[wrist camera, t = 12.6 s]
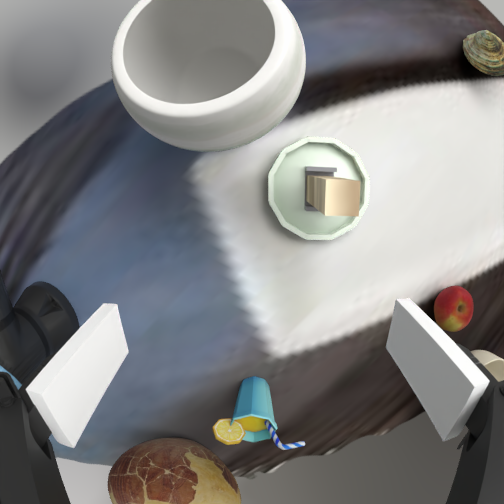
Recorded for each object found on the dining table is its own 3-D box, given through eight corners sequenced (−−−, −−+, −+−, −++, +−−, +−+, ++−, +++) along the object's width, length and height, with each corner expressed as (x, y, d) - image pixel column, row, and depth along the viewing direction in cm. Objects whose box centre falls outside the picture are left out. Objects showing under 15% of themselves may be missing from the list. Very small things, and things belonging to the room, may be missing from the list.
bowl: (422, 365, 48) (443, 396, 38) (480, 320, 45) (506, 344, 35) (435, 402, 51) (451, 430, 42) (485, 363, 48) (506, 387, 39)
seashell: (492, 100, 32) (527, 94, 23) (450, 59, 31) (484, 44, 22) (500, 63, 29) (531, 54, 20) (460, 25, 28) (489, 8, 19)
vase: (170, 473, 62) (149, 556, 33) (109, 414, 55) (62, 509, 26) (263, 463, 58) (261, 565, 29) (210, 398, 51) (182, 536, 22)
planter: (152, 101, 36) (59, 57, 15) (237, 32, 33) (216, -66, 11) (223, 181, 39) (177, 198, 18) (312, 109, 36) (367, 51, 15)
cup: (298, 369, 48) (307, 433, 34) (296, 398, 50) (303, 460, 36) (219, 371, 49) (206, 434, 34) (223, 400, 51) (214, 461, 36)
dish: (267, 236, 41) (267, 240, 39) (267, 136, 37) (267, 134, 35) (361, 237, 41) (367, 241, 38) (365, 142, 37) (372, 140, 34)
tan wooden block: (306, 200, 39) (324, 215, 27) (306, 175, 38) (325, 179, 26) (331, 201, 39) (358, 216, 27) (332, 176, 38) (360, 180, 26)
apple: (462, 278, 42) (487, 296, 35) (450, 318, 45) (472, 339, 37) (432, 277, 42) (457, 296, 35) (420, 319, 45) (441, 342, 37)
